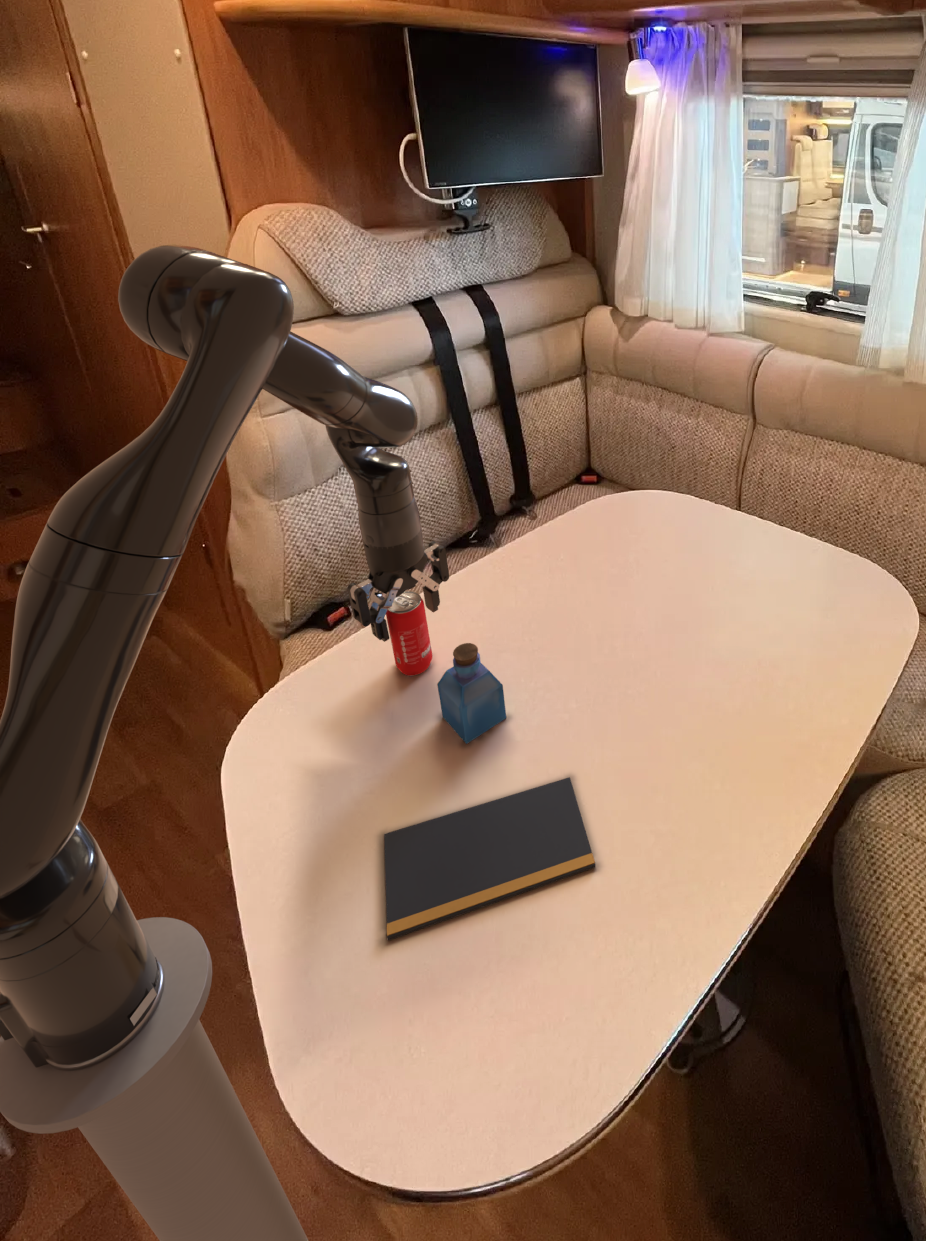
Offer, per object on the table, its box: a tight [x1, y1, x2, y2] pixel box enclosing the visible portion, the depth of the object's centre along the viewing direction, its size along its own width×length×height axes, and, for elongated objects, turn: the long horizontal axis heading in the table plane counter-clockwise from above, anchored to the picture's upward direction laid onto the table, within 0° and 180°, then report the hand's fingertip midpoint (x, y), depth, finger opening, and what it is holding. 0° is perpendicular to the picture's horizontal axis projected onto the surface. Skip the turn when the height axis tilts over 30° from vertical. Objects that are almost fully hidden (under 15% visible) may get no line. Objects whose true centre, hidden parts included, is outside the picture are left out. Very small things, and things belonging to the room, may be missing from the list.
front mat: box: [383, 776, 596, 941], centre depth 83 cm, size 22×12×1 cm, turn 111°
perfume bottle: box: [436, 642, 507, 745], centre depth 97 cm, size 6×6×12 cm
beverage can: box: [385, 590, 433, 677], centre depth 106 cm, size 5×5×12 cm
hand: (408, 623), depth 105 cm, fingers open, 7 cm apart
